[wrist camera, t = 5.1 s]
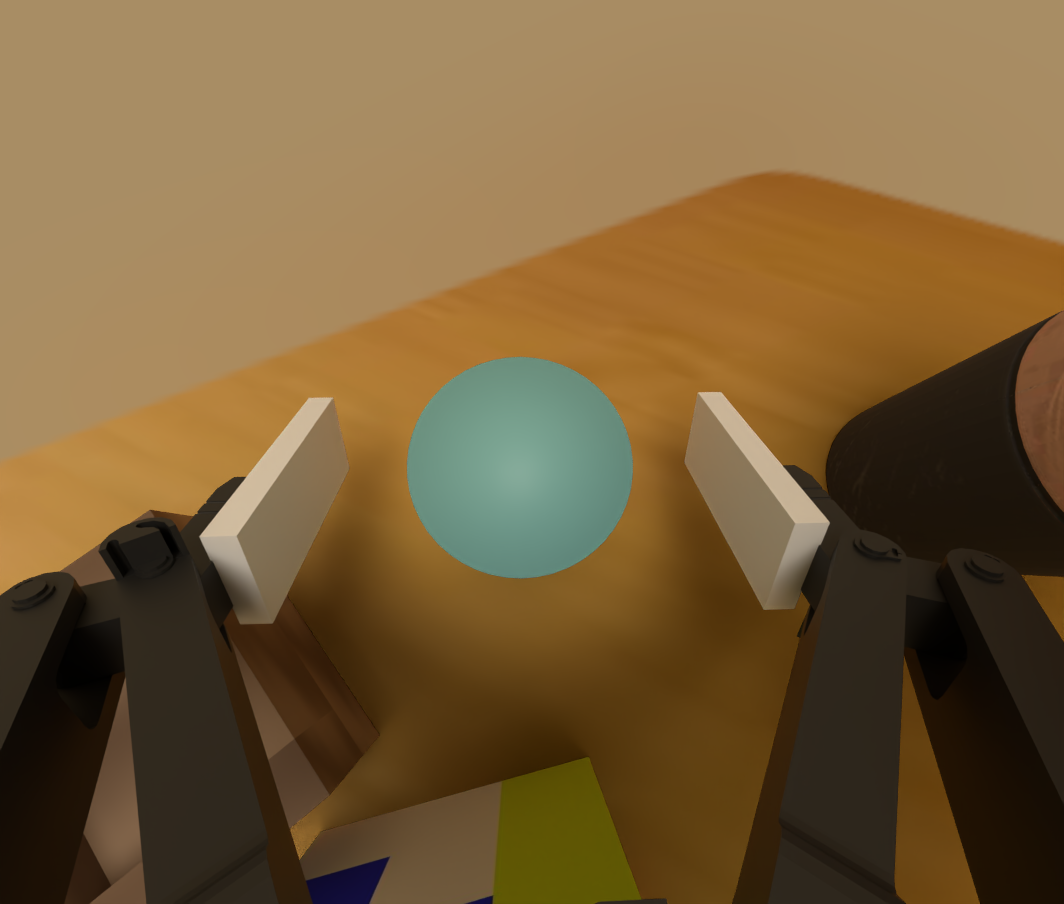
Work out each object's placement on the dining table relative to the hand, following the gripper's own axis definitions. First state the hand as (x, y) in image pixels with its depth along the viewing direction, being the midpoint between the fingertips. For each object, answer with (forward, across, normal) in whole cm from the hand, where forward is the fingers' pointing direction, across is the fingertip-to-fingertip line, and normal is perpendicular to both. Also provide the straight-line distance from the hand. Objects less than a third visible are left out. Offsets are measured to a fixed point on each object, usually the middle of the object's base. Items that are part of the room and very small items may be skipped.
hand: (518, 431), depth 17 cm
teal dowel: (+1, 0, -5) cm, 5 cm away
